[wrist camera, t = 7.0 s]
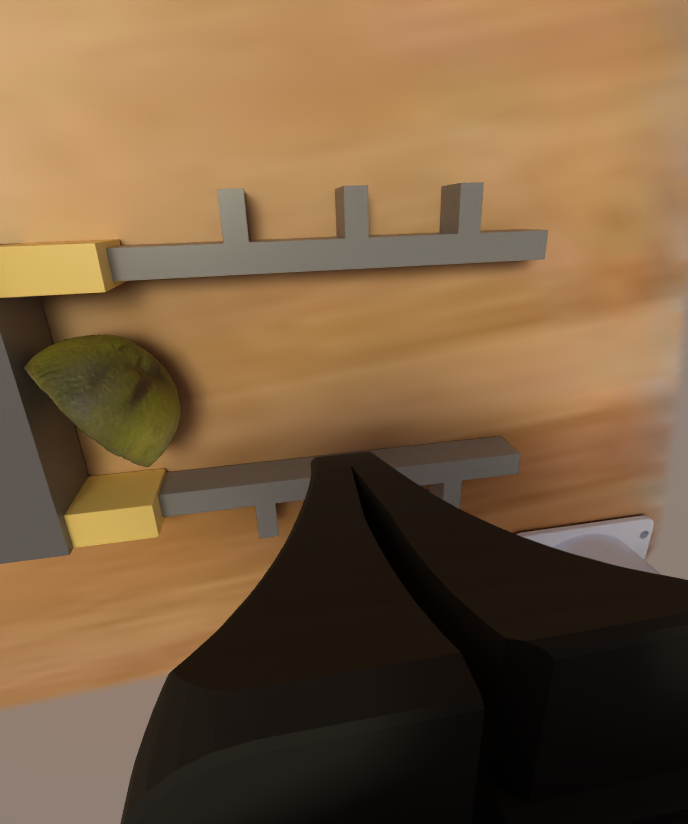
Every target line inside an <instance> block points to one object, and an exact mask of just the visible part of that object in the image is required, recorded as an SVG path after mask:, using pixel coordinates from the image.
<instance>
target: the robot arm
mask: <svg viewBox="0 0 688 824" xmlns="http://www.w3.org/2000/svg"><path fill="white" fill-rule="evenodd" d="M310 463H311V478H310V483H309V487H308V490H307V493H306V497H305V500H304V503H303V506H302V508H301V511H300V513H299V515H298V517H297V520H296V522H295V524H294V527H293V529H292V531H291V533H290V535H289V537H288V539H287V540H286V542H285V544H284V546H283V548H282V549H281V551H280V553H279V554H278V556H277V558H276V559H275V561H274V562H273V564H272V565H271V566H270V568H269V569H268V571H267V572H266V574H265V575H264V577H263V578H262V579H261V581H260V582H259V583H258V585H257V586H256V587H255V589H254V590H253V591H252V592H251V594H250V595H249V596H248V597H247V598H246V599H245V600H244V602H243V603H242V604H241V605H240V606H239V607H238V608H237V609H236V611H235V612H234V613H233V614H232V615H231V616H230V617H229V619H228V620H227V621H226V622H225V623H224V624H223V625H222V626H221V627H220V628H219V629H218V630H217V631H216V632H215V633H214V634H213V635H212V636H211V637H210V638H209V639H208V640H207V641H206V642H204V643H203V644H202V645H201V646H200V647H199V648H198V649H197V650H195V651H194V652H193V653H192V654H191V655H190V656H189V657H188V658H186V659H185V660H184V661H183V662H182V663H181V664H180V665H178V666H177V667H176V668H175V669H173V670H172V671H171V672H170V673H169V675H168V677H167V679H166V681H165V683H164V685H163V688H162V690H161V692H160V695H159V697H158V700H157V702H156V704H155V707H154V709H153V712H152V715H151V717H150V720H149V723H148V725H147V728H146V731H145V733H144V736H143V739H142V742H141V745H140V748H139V751H138V754H137V757H136V760H135V763H134V767H133V771H132V775H131V778H130V783H129V787H128V792H127V796H126V801H125V806H124V810H123V815H122V819H121V824H688V580H684V579H680V578H675V577H669V576H665V575H661V574H660V573H658V572H657V571H656V570H655V569H654V568H653V567H652V566H651V565H649V564H648V563H647V562H646V561H645V557H646V553H647V549H648V546H649V542H650V538H651V534H652V530H653V526H654V522H653V520H652V519H651V518H649V517H648V516H646V515H642V516H635V517H628V518H621V519H614V520H607V521H600V522H593V523H586V524H579V525H572V526H565V527H558V528H550V529H543V530H536V531H529V532H522V533H518V534H513V533H511V532H508V531H506V530H503V529H501V528H499V527H496V526H494V525H492V524H490V523H488V522H485V521H483V520H481V519H479V518H477V517H474V516H472V515H470V514H468V513H466V512H464V511H462V510H460V509H458V508H457V507H455V506H453V505H451V504H450V503H448V502H446V501H444V500H442V499H441V498H439V497H437V496H435V495H434V494H432V493H431V492H429V491H427V490H426V489H424V488H422V487H421V486H419V485H418V484H416V483H415V482H413V481H412V480H410V479H409V478H407V477H406V476H404V475H403V474H401V473H400V472H399V471H397V470H396V469H394V468H393V467H392V466H390V465H389V464H387V463H386V462H384V461H383V460H382V459H380V458H379V457H377V456H376V455H375V454H373V453H371V452H370V451H367V452H358V453H349V454H340V455H330V456H321V457H315V458H314V459H313V460H312V461H311V462H310Z"/></svg>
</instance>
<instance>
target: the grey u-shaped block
mask: <svg viewBox="0 0 688 824" xmlns="http://www.w3.org/2000/svg"><path fill="white" fill-rule="evenodd" d="M483 184H484V182H482V183H458V184H453V185H447V186H442V195H441V218H440V233H416V234H391V235H369V231H368V185H361V186H342V187H340V188H337V189H335V199H336V227H337V237H318V238H293V239H268V240H249V233H248V223H247V213H246V203H245V193H244V189H243V188H240V189H217V193H218V201H219V209H220V217H221V226H222V234H223V241H219V242H195V243H170V244H146V245H121V244H120V239H117V240H91V241H65V242H39V243H14V244H0V564H3V563H11V562H18V561H26V560H34V559H41V558H49V557H57V556H65V555H70V553H71V551H72V549H73V548H76V547H84V546H91V545H99V544H107V543H115V542H123V541H131V540H138V539H146V538H154V537H159V535H160V531H161V528H162V525H163V521H164V518H165V517H168V516H176V515H184V514H192V513H201V512H209V511H217V510H225V509H233V508H242V507H250V506H255V507H256V515H257V523H258V532H259V538H266V537H274V536H279V534H278V521H277V509H276V503H283V502H291V501H299V500H305V497H306V493H307V490H308V487H309V483H310V478H311V463H310V462H311V461H312V460H313V459H314V458H315V457H321V456H313V457H304V458H295V459H286V460H276V461H267V462H258V463H249V464H240V465H231V466H221V467H212V468H203V469H194V470H185V471H175V472H166V470H165V468H164V469H154V470H145V471H136V472H126V473H117V474H108V475H99V476H88V472H87V468H86V465H85V461H84V457H83V454H82V450H81V446H80V443H79V439H78V435H77V432H76V428H75V424H74V423H73V422H72V421H71V420H70V419H69V418H68V417H67V416H66V415H65V414H64V413H63V412H62V411H61V410H60V409H59V408H58V406H57V405H56V404H55V403H54V401H53V400H52V399H51V398H50V397H49V395H48V394H47V393H45V392H44V391H42V390H41V389H40V388H39V386H38V385H37V384H36V383H35V381H34V380H33V379H32V378H31V377H30V376H29V374H28V373H27V371H26V370H24V367H25V366H26V364H27V363H28V362H29V361H30V359H31V358H33V357H34V356H35V355H36V354H37V353H39V352H40V351H42V350H43V349H45V348H47V347H49V346H50V345H53V343H52V339H51V336H50V332H49V328H48V325H47V321H46V317H45V313H44V310H43V306H42V302H41V299H40V296H43V295H62V294H80V293H99V292H107V291H109V290H111V289H113V288H115V287H117V286H119V285H121V284H123V283H125V282H127V281H130V280H150V279H169V278H189V277H208V276H228V275H247V274H267V273H287V272H306V271H326V270H345V269H365V268H384V267H404V266H424V265H443V264H463V263H482V262H502V261H521V260H541V259H545V252H546V244H547V236H548V230H531V229H514V230H490V231H480V225H481V211H482V198H483ZM368 451H370V452H371V453H373V454H375V455H376V456H377V457H379V458H380V459H382V460H383V461H384V462H386V463H387V464H389V465H390V466H392V467H393V468H394V469H396V470H397V471H399V472H400V473H401V474H403V475H404V476H406V477H407V478H409V479H410V480H412V481H413V482H415V483H416V484H418V485H419V486H422V485H429V492H431V493H432V494H434V495H435V496H437V497H439V498H441V499H442V500H444V501H446V502H448V503H450V504H451V505H453V506H455V507H457V508H458V509H460V501H461V487H462V481H463V480H471V479H479V478H487V477H496V476H504V475H512V474H518V471H519V462H520V454H521V453H520V452H518V451H517V450H516V449H515V448H514V447H513V446H512V445H510V444H509V443H508V442H507V441H506V440H505V439H504V438H502V437H501V436H497V437H488V438H479V439H469V440H460V441H451V442H442V443H433V444H423V445H414V446H405V447H396V448H387V449H378V450H368ZM359 452H367V451H359ZM350 453H358V452H350ZM341 454H349V453H341ZM332 455H340V454H332ZM322 456H330V455H322Z"/></svg>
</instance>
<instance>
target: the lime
mask: <svg viewBox="0 0 688 824" xmlns="http://www.w3.org/2000/svg"><path fill="white" fill-rule="evenodd" d="M24 370H26V371H27V373H28V374H29V376H30V377H31V378H32V379H33V380H34V381H35V383H36V384H37V385H38V386H39V388H40V389H41V390H42V391H44V392H45V393H47V394H48V395H49V397H50V398H51V399H52V400H53V401H54V403H55V404H56V405H57V406H58V408H59V409H60V410H61V411H62V412H63V413H64V414H65V415H66V416H67V417H68V418H69V419H70V420H71V421H72V422H73V423H74V424H75V425H76V426H77V428H78V429H79V430H82V431H83V432H84V433H85V434H86V435H87V436H89V437H90V438H92V439H94V440H96V441H97V442H98V443H99V444H100V445H101V446H103V447H104V448H105V449H106V450H108V451H110V452H111V453H113V454H115V455H117V456H122V457H123V458H124V459H127V460H129V461H131V462H132V463H134V464H137V465H141V466H143V467H149V466H151V465H152V464H153V463H154V462H155V461H156V460H157V459H158V458H159V457H160V456H161V455H162V454H163V453H164V451H165V450H166V448H167V446H168V445H169V443H170V442H171V440H172V438H173V436H174V434H175V433H176V431H177V428H178V425H179V421H180V413H181V409H180V403H179V398H178V393H177V390H176V386H175V384H174V382H173V380H172V378H171V376H170V375H169V373H168V372H167V370H166V368H165V367H164V366H163V365H162V364H161V363H160V362H158V361H157V360H156V359H155V357H154V356H152V355H151V354H150V353H148V352H147V351H146V350H145V349H143V348H142V347H139V346H138V345H137V344H135V343H134V342H132V341H130V340H128V339H126V338H123V337H119V336H114V335H89V336H82V337H76V338H71V339H66V340H62V341H59V342H56V343H55V344H53V345H50V346H49V347H47V348H45V349H43V350H42V351H40V352H39V353H37V354H36V355H35V356H34V357H33V358H31V359H30V361H29V362H28V363H27V364H26V366H25V367H24Z"/></svg>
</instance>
